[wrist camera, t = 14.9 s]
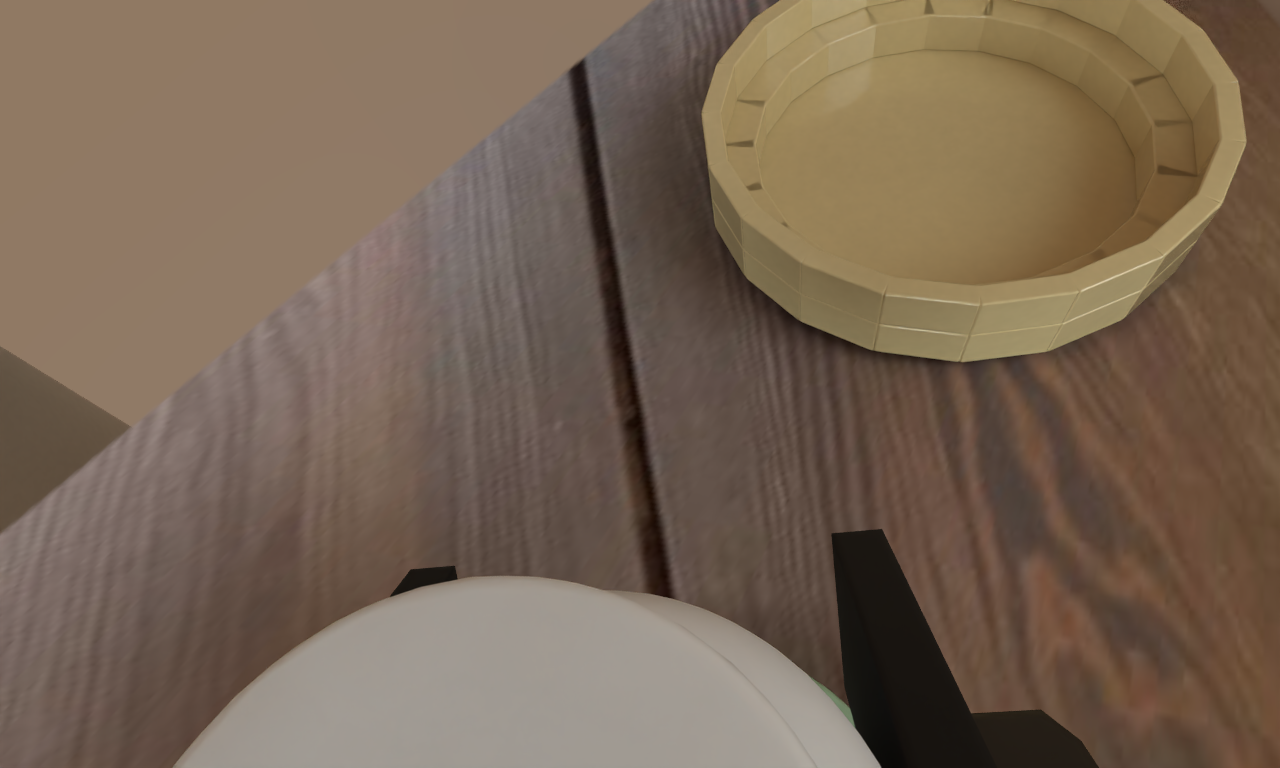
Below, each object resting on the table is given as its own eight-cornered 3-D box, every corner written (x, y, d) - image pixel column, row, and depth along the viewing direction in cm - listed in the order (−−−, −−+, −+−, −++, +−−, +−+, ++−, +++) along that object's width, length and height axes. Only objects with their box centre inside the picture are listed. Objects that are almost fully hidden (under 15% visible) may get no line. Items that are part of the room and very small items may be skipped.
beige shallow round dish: (630, 258, 28) (611, 191, 25) (829, -4, 34) (834, -84, 31) (1098, 452, 22) (1147, 393, 19) (1248, 90, 28) (1304, 0, 25)
